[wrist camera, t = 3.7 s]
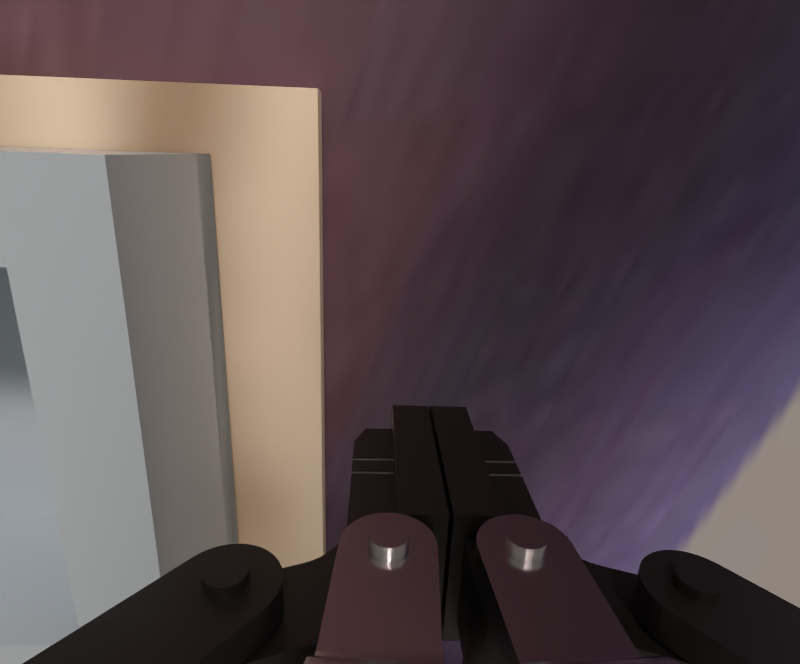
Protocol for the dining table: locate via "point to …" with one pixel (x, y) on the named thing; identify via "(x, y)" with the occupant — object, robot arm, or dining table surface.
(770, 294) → the dining table surface
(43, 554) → the holder
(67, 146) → the tan wooden board
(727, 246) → the dining table surface
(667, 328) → the dining table surface
